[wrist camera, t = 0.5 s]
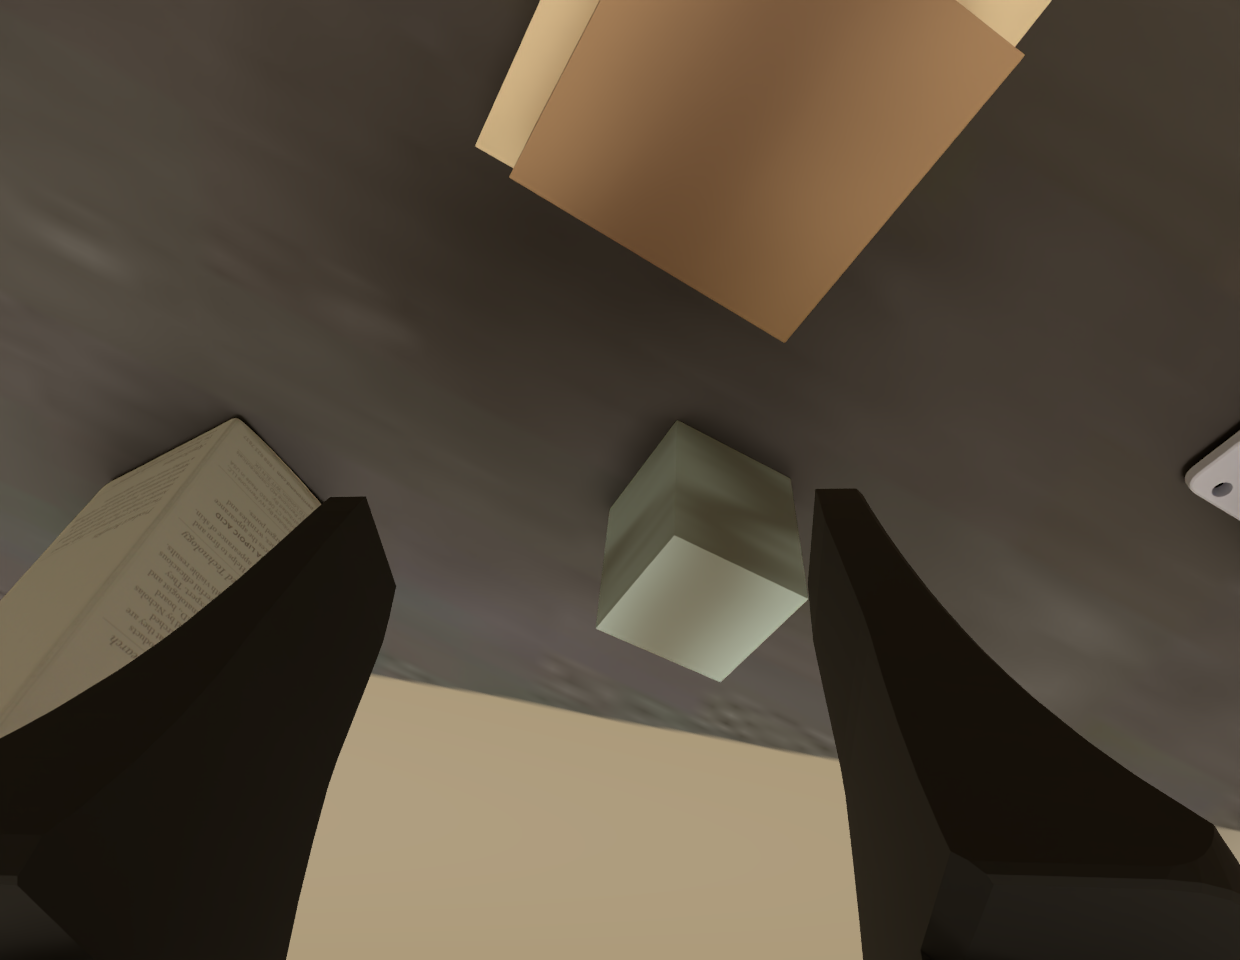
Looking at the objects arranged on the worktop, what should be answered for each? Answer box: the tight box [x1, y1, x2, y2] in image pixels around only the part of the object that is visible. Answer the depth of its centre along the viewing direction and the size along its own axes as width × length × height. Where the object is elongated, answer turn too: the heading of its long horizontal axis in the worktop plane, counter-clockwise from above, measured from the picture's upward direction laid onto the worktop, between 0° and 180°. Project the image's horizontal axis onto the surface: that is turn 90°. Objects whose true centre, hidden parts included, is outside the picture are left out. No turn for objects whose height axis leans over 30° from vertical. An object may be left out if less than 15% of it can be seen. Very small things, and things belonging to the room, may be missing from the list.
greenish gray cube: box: [596, 420, 808, 682], centre depth 24 cm, size 4×4×5 cm
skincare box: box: [0, 418, 321, 738], centre depth 23 cm, size 6×4×12 cm
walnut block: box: [509, 0, 1025, 343], centre depth 15 cm, size 6×6×3 cm
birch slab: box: [475, 0, 1052, 168], centre depth 18 cm, size 8×8×3 cm
